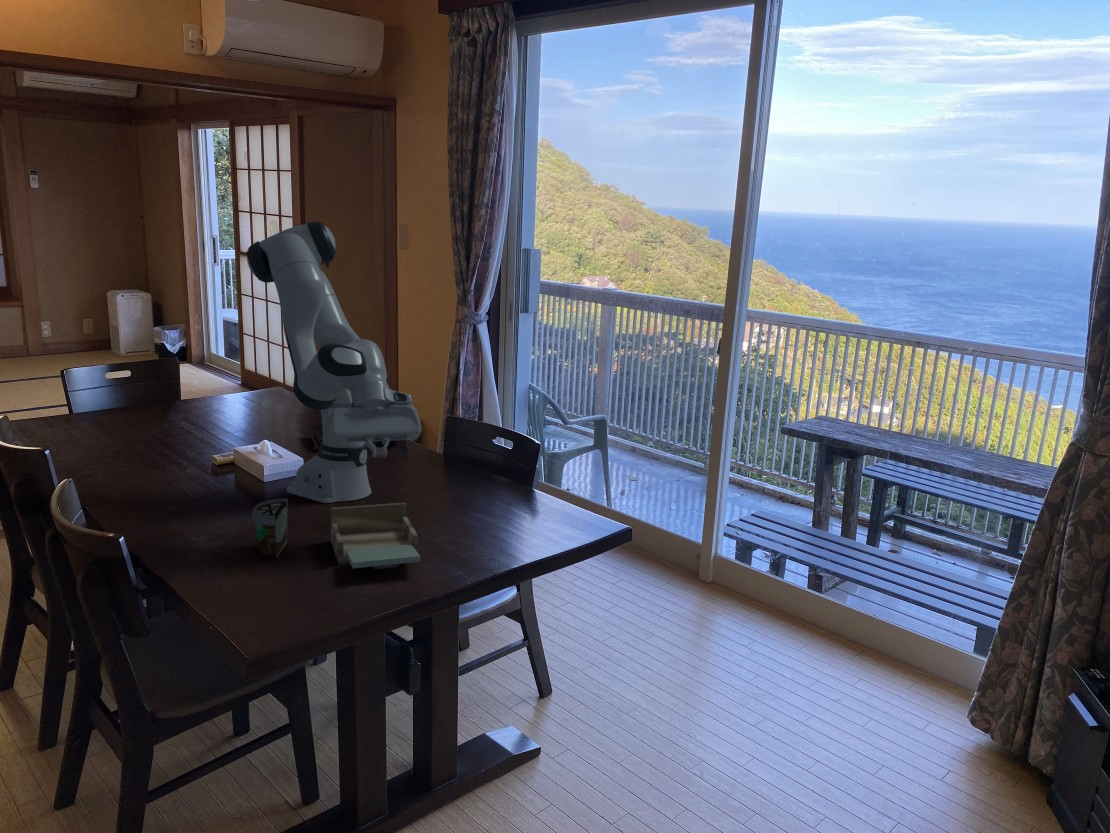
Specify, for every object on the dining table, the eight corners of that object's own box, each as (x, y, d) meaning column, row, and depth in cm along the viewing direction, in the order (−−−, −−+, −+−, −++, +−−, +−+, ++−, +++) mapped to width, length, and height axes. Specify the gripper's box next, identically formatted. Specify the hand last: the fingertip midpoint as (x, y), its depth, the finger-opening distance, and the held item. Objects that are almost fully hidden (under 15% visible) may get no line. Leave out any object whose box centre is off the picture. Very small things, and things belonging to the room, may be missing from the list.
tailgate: (346, 550, 171) (352, 562, 162) (411, 544, 176) (420, 556, 168) (346, 559, 171) (352, 572, 163) (411, 553, 177) (420, 565, 168)
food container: (261, 538, 183) (260, 496, 181) (288, 538, 183) (288, 497, 181) (245, 560, 171) (244, 516, 169) (275, 560, 171) (274, 516, 169)
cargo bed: (330, 540, 184) (330, 507, 182) (404, 534, 190) (405, 502, 189) (338, 564, 171) (338, 529, 170) (417, 556, 178) (418, 523, 176)
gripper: (327, 396, 177) (334, 451, 171) (417, 395, 186) (427, 447, 179) (324, 411, 182) (330, 465, 176) (412, 409, 191) (421, 460, 184)
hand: (380, 456), depth 178 cm, fingers closed
